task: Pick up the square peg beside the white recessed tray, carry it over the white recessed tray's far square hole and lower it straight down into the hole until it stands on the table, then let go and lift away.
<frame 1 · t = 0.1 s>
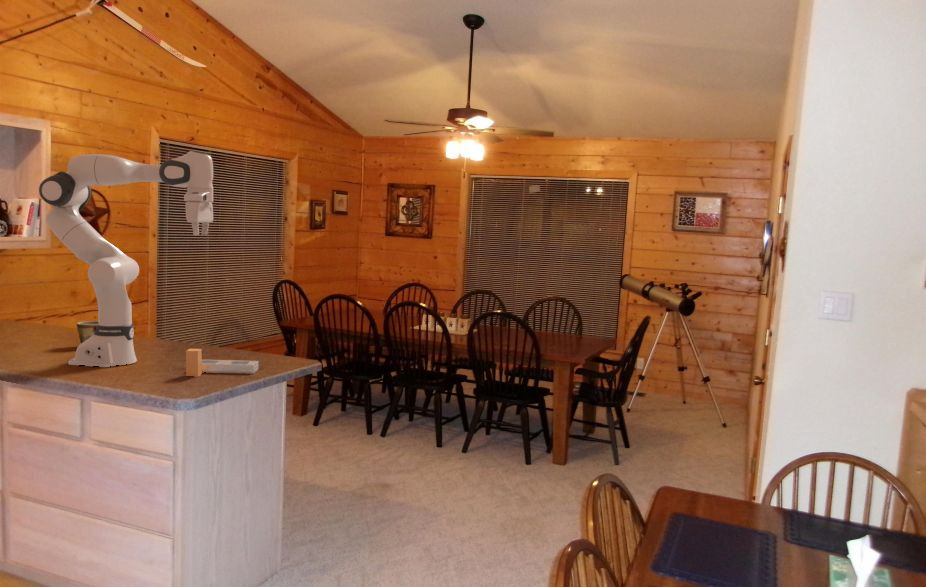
hand: (200, 235, 260), 48 cm above the table, tool pointing down, fingers open, 8 cm apart
ceramic cup: (92, 347, 292), on the table
white recessed tray: (224, 370, 257), on the table
square peg: (193, 375, 247), on the table
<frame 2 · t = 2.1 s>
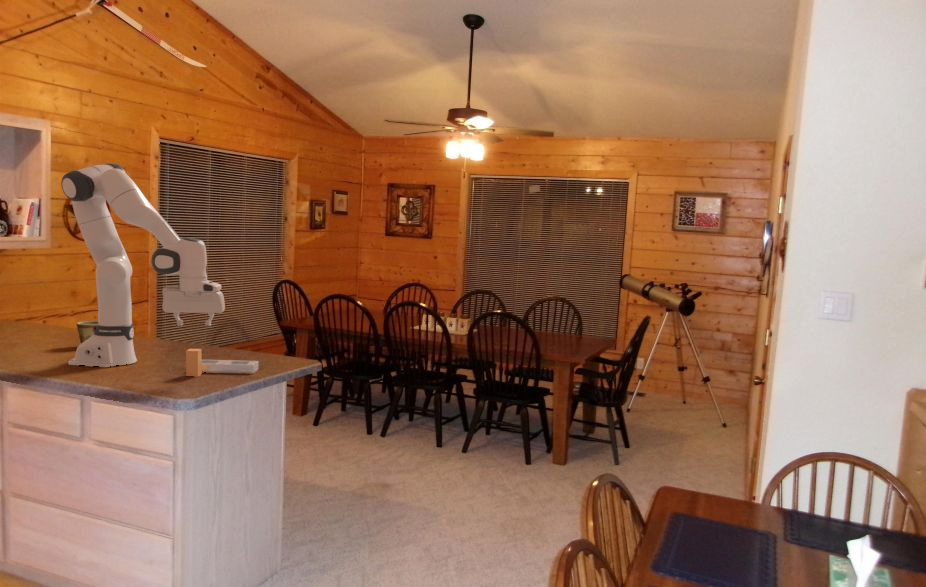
hand: (194, 325, 245), 17 cm above the table, tool pointing down, fingers open, 8 cm apart
nothing on the table moved.
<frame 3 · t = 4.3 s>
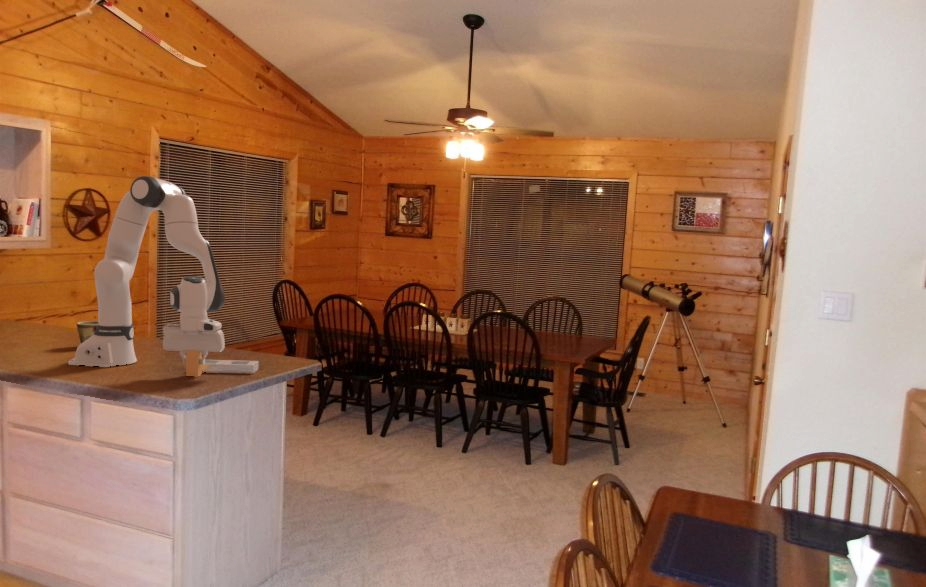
hand: (193, 363, 247), 4 cm above the table, tool pointing down, fingers closed on square peg, 4 cm apart
square peg: (193, 375, 247), on the table, touching gripper
everything else where it was.
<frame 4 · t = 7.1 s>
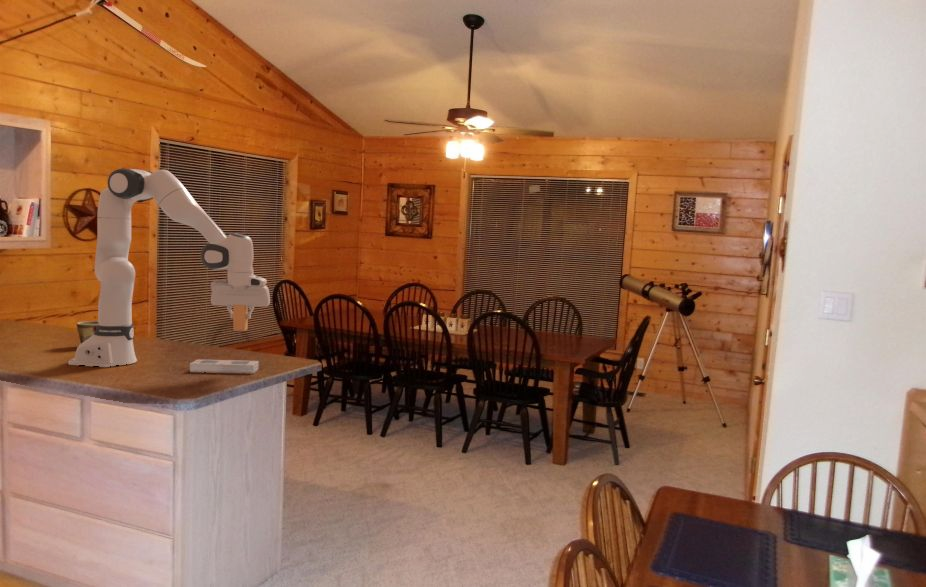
hand: (240, 318, 255), 19 cm above the table, tool pointing down, fingers closed on square peg, 4 cm apart
square peg: (240, 329, 255), point 15 cm above the table, touching gripper
everything else where it was.
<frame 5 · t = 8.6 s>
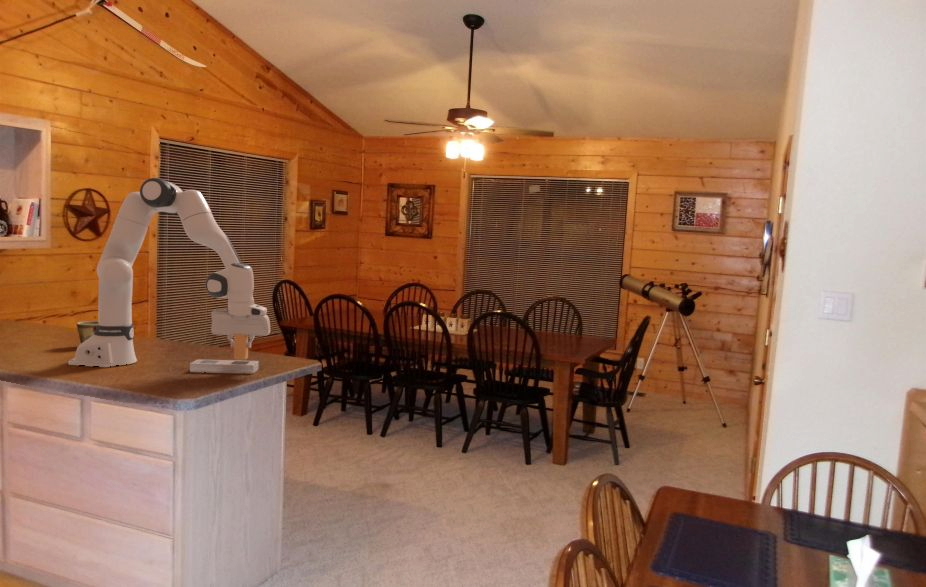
hand: (241, 347, 256), 9 cm above the table, tool pointing down, fingers closed on square peg, 4 cm apart
square peg: (241, 358, 257), point 4 cm above the table, touching gripper
everything else where it was.
when the fingers open (6 cm above the table, at t = 9.9 s): square peg drops 2 cm, resting in white recessed tray.
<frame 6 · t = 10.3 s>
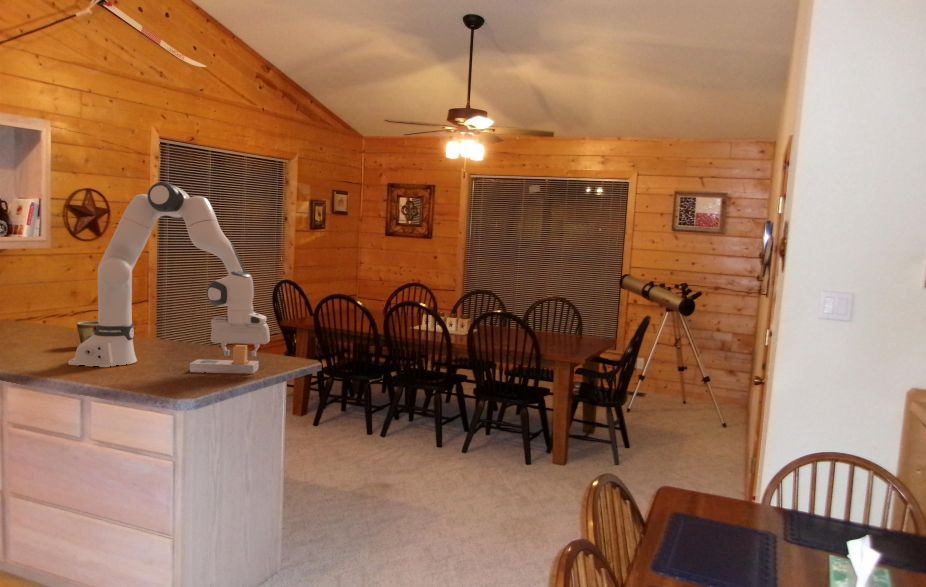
hand: (240, 355, 256), 6 cm above the table, tool pointing down, fingers open, 8 cm apart
square peg: (240, 371, 257), resting in white recessed tray
everything else where it was.
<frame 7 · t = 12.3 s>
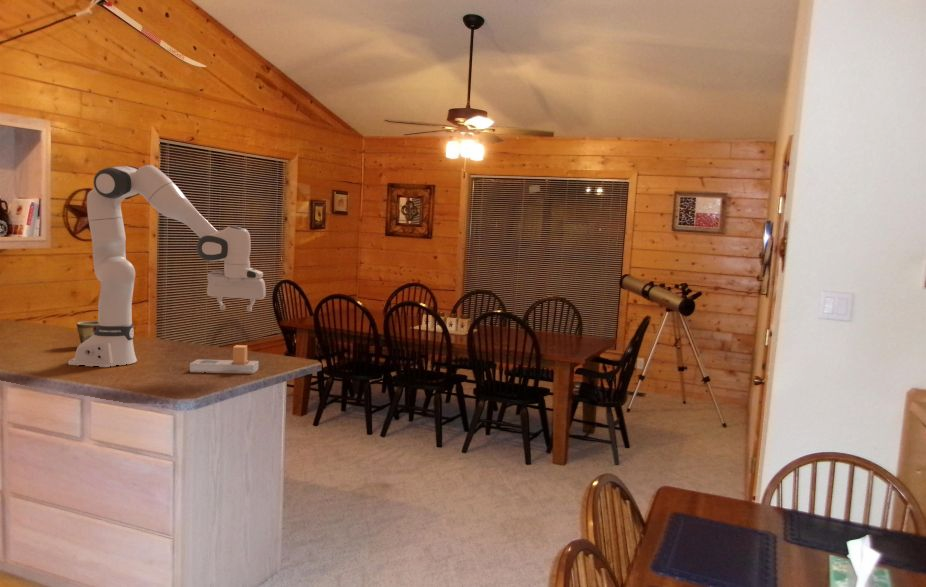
hand: (235, 310, 257), 22 cm above the table, tool pointing down, fingers open, 8 cm apart
nothing on the table moved.
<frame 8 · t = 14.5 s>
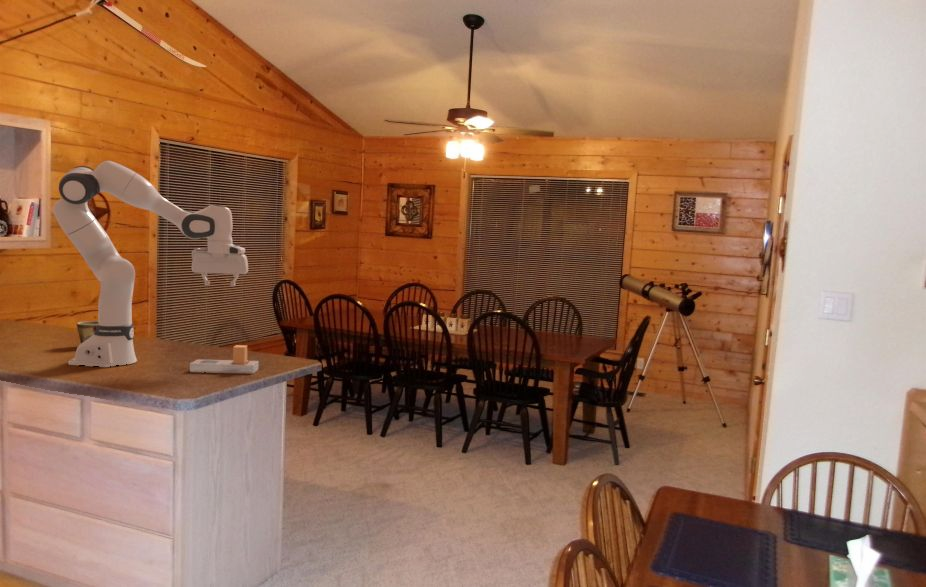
hand: (220, 285, 268), 29 cm above the table, tool pointing down, fingers open, 8 cm apart
nothing on the table moved.
at the end: square peg 0.1 cm from the target spot on the white recessed tray, point 0.0 cm above the white recessed tray's base; square peg tilted 0°; the gripper is holding nothing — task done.
